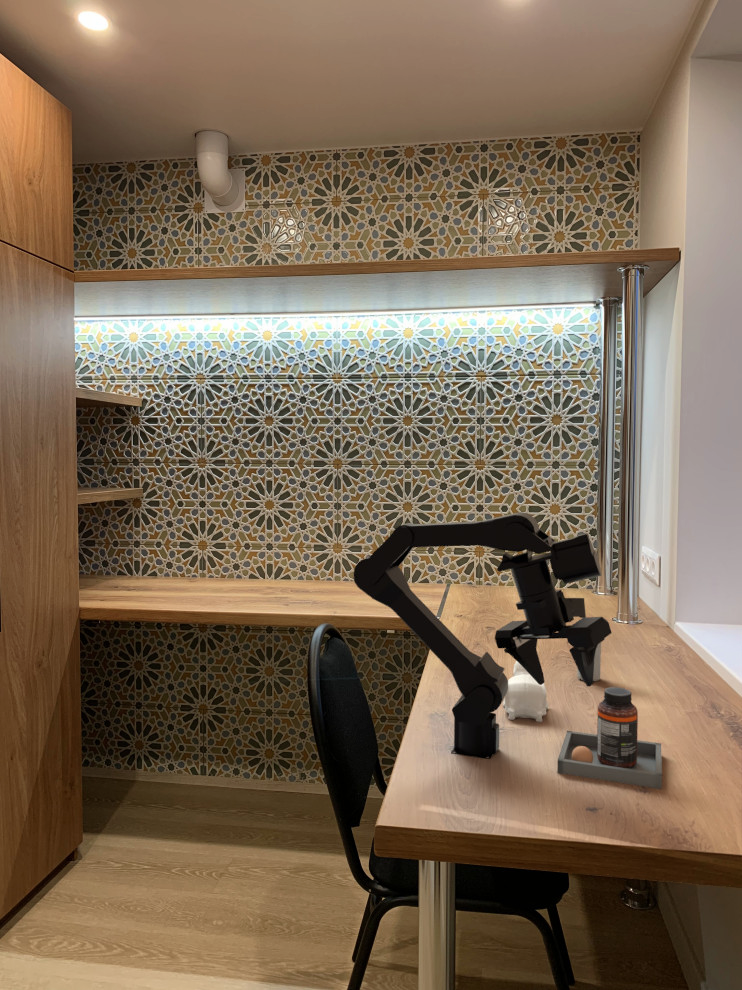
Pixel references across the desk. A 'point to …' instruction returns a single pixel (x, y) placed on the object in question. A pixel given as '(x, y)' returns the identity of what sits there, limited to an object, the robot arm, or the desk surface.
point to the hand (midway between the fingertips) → (565, 684)
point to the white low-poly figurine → (525, 696)
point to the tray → (640, 774)
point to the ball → (582, 754)
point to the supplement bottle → (617, 729)
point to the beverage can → (596, 665)
